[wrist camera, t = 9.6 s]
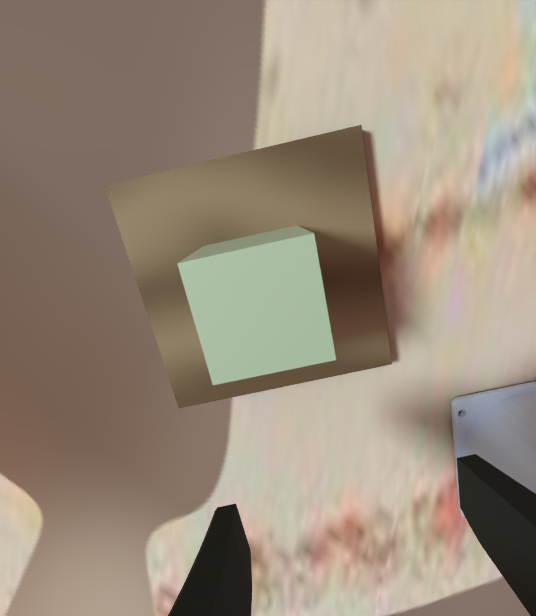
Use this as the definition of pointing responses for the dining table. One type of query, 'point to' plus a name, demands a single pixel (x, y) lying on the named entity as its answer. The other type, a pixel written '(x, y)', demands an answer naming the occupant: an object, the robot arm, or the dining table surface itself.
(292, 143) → the walnut base board
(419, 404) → the dining table surface
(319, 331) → the sage block
